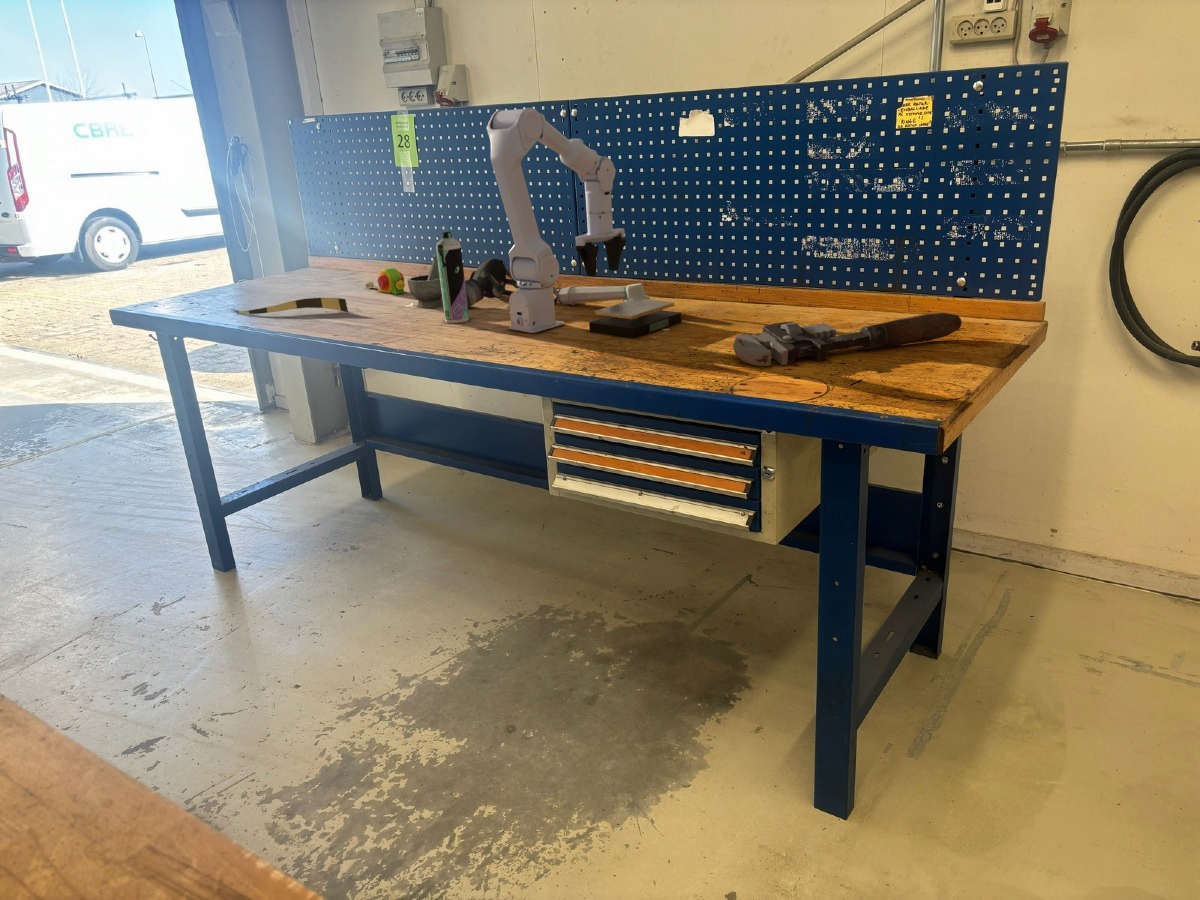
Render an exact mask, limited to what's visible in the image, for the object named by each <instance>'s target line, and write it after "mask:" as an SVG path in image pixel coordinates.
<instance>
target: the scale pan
mask: <svg viewBox="0 0 1200 900" xmlns="http://www.w3.org/2000/svg"><path fill="white" fill-rule="evenodd" d="M672 307H675V302H673V301H666V300H658V299H641V298H637V299H634V300H630V301H627V302H623V301H622V302H621V303H616V304H614V305H610V306H607V307H603V308H600V309H596V310H594V315H596V316H602V317H603V316H604V317H608V316H611V317H618V318H625V319H635V318H638V317H641V316H644V315H648V314H651V313H654V312H657V311H660V310H666V309H669V308H672Z"/></svg>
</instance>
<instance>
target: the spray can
mask: <svg viewBox="0 0 1200 900" xmlns="http://www.w3.org/2000/svg"><path fill="white" fill-rule="evenodd" d="M435 245H436V247H435V251H436V254H437V259H438V267H439V275H440V283H441V291H442V301H443V305H442V308H443V313H444V321H445V323H447V324H462V323H466V322H469V321H470V313H469V308H468V303H467V295H466V286H465V281H466V279H465V270H464V269H465V268H464V261H463V252H462V245H461V241H459V240H457V239H455V237H454V236H453V235H452V233H451V231H445V232H442V236H441V238H440V240H439V241H438V242H437V243H436V244H435Z"/></svg>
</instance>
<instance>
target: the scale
mask: <svg viewBox="0 0 1200 900" xmlns="http://www.w3.org/2000/svg"><path fill="white" fill-rule="evenodd" d="M681 322H682V312H678V311H671V310H665V309H663V310H660V311H657V312H654V313H651V314H648V315H644V316H641V317H638V318H635V319H625V318H618V317H611V316H604V317H602V318H599V319H595V320H592V321H589V322H588V325H589V326H588V327H589V332H591V333H598V334H605V335H611V336H617V337H624V338H629V339H634V338H638V337H641V336H645V335H647V334H650V333H653V332H656V331H658V330H662V329H665V328H668V327H670V326H673V325H676V324H679V323H681Z"/></svg>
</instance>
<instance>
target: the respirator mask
mask: <svg viewBox="0 0 1200 900" xmlns="http://www.w3.org/2000/svg"><path fill="white" fill-rule="evenodd" d="M507 277H509V278H507ZM507 285H512V287H514V288H515V289H518V288H519V286H517V282H516V281H515V280H514V279H513V278H512V276H511V273H510V269H508V268H506V266H505V262H504V260H503V259H500V258H495V257H492V258H489V259H487V260H485V261H483V263H481V264H480V265H479V266H478V267H477V268H476V270H474V271H472V273H471V274H470V276H469V279H465V286H466V295H467V303H468V309H469V308H471V307H472V306H474V305H475V304H477V303H479V302H480V301H483V299H484V298H487V299H494V298H500V297H503V296H507V297H510V295H511V294H512V293H513V292H514V291H513V290H508V289H506V286H507ZM558 291H559V289H557V288H556V287H554V286H553V294H554V295H555V297H554V305H555V304H557V303H558V302H559V301H558V297H557V293H558Z"/></svg>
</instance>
